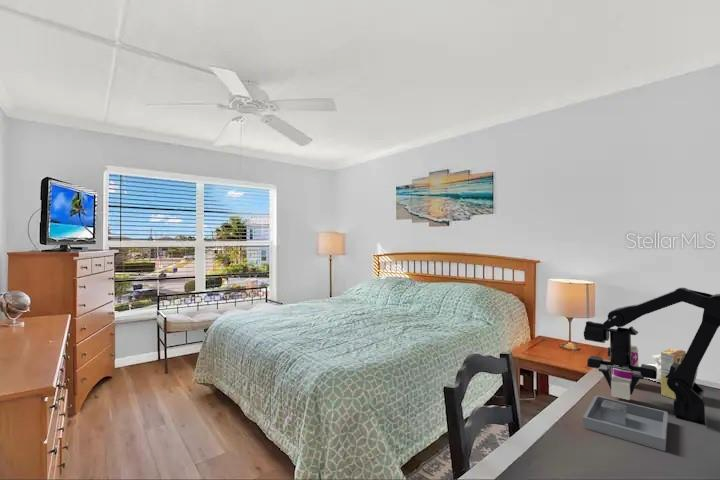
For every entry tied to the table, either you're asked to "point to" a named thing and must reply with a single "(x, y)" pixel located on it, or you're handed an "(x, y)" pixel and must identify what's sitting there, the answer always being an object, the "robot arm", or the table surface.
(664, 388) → the candy box
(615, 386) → the cream box
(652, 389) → the table surface
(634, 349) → the supplement can
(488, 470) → the table surface
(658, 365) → the duck figurine
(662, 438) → the tray
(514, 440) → the table surface
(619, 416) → the steel block
